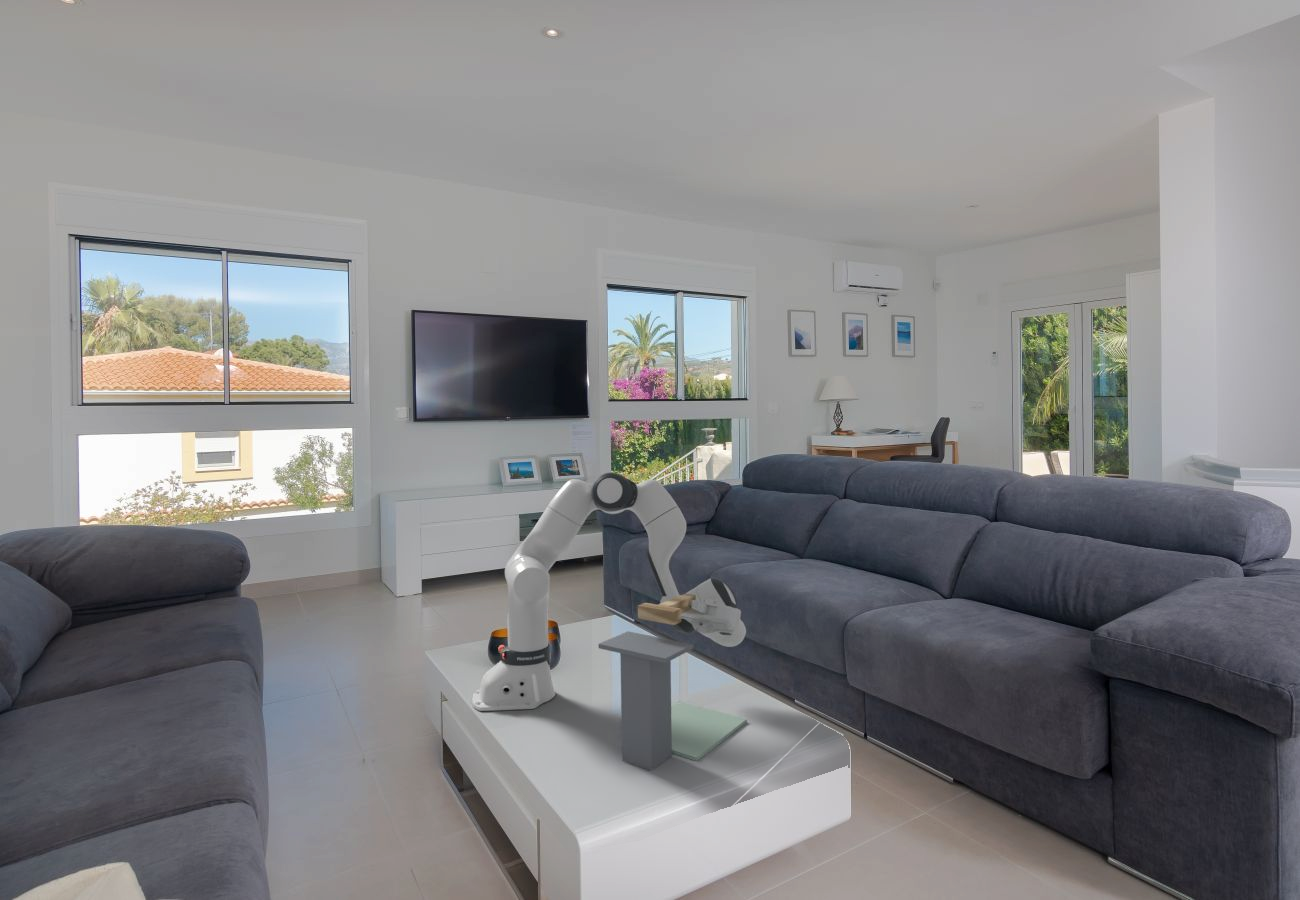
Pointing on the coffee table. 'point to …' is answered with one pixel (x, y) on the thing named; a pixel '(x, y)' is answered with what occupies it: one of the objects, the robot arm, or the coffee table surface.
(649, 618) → the t bar
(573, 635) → the coffee table surface
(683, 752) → the mat
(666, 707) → the stand
